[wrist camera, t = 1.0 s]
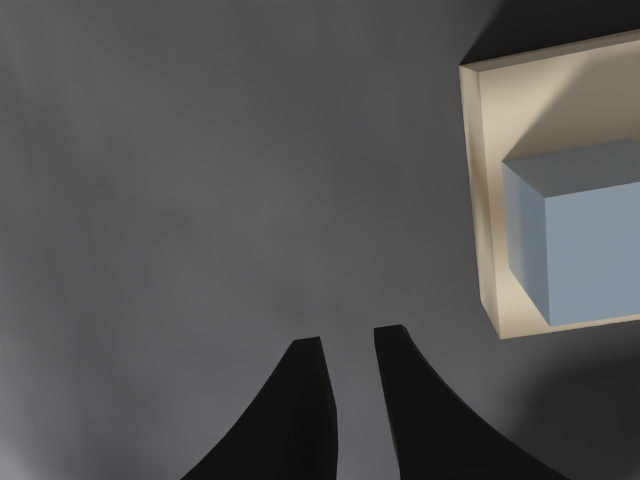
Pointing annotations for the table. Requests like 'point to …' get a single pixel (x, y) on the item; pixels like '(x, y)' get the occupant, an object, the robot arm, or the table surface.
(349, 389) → the table surface
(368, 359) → the table surface
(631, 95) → the beige piece
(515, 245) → the blue-grey cube
